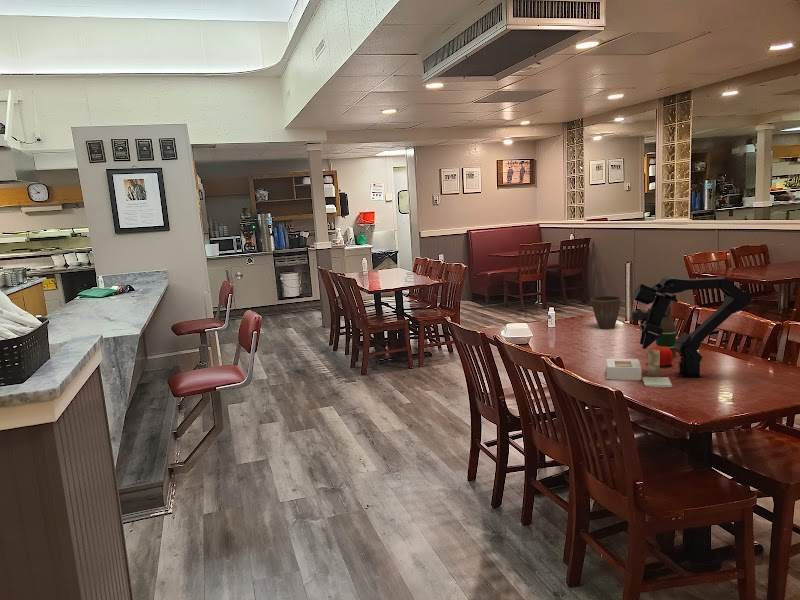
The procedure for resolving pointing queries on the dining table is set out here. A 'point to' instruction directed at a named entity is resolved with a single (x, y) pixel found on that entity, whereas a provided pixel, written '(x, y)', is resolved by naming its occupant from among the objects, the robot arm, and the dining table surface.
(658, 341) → the beer bottle
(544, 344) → the dining table surface
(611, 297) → the plant pot
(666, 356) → the tomato
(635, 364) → the box
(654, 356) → the tan cylinder
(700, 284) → the robot arm
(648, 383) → the rest pad
